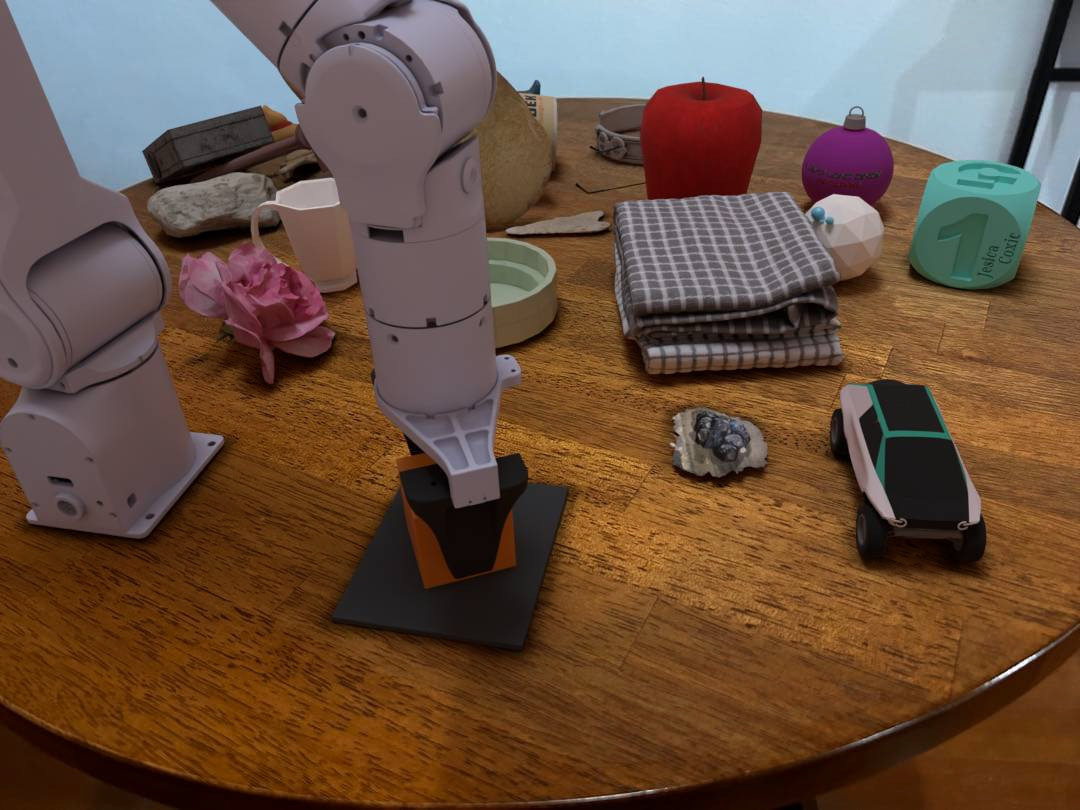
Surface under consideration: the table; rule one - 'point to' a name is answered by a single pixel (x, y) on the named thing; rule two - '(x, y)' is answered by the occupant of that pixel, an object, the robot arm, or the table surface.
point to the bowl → (520, 289)
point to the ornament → (848, 232)
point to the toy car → (906, 469)
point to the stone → (507, 155)
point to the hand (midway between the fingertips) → (455, 521)
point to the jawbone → (296, 162)
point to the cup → (315, 232)
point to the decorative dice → (973, 223)
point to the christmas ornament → (848, 162)
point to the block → (428, 546)
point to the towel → (725, 283)
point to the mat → (462, 606)
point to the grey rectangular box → (207, 143)
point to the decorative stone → (214, 204)
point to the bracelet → (608, 139)
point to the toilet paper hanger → (265, 158)
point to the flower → (257, 303)
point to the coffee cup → (545, 117)
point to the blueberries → (716, 443)
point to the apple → (699, 140)
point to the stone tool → (565, 225)
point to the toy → (279, 125)
